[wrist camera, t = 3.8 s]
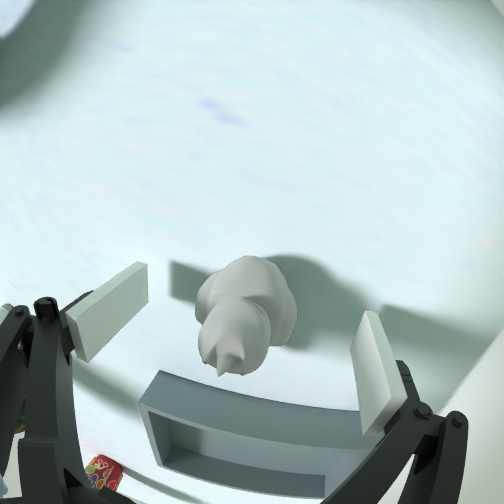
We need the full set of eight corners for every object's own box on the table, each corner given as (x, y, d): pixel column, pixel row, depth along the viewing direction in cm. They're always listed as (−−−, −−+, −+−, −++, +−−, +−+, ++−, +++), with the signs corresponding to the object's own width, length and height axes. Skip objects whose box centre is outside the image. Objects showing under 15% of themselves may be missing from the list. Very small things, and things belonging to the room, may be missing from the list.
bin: (159, 370, 21) (138, 401, 17) (380, 412, 18) (387, 448, 15) (169, 441, 25) (157, 465, 21) (329, 472, 23) (327, 499, 19)
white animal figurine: (311, 258, 15) (316, 350, 8) (280, 347, 18) (262, 447, 10) (219, 233, 16) (150, 299, 8) (203, 324, 18) (152, 411, 11)
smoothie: (96, 447, 34) (51, 515, 15) (133, 471, 34) (94, 542, 16) (91, 453, 37) (52, 513, 18) (124, 474, 37) (89, 536, 19)
